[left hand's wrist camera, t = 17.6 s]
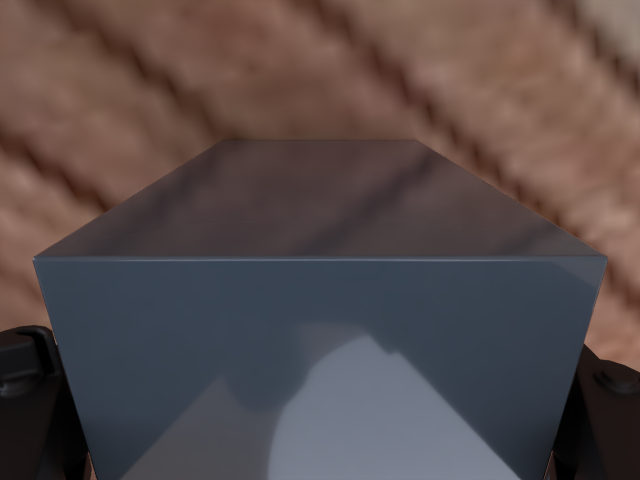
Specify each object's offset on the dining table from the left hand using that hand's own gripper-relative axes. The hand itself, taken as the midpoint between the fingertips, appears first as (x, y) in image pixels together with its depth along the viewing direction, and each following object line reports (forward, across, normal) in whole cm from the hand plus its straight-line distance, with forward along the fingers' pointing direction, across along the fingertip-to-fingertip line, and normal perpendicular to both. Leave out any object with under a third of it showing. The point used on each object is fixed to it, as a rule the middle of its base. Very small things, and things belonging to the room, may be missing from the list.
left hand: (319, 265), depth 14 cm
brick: (+3, 0, 0) cm, 3 cm away
